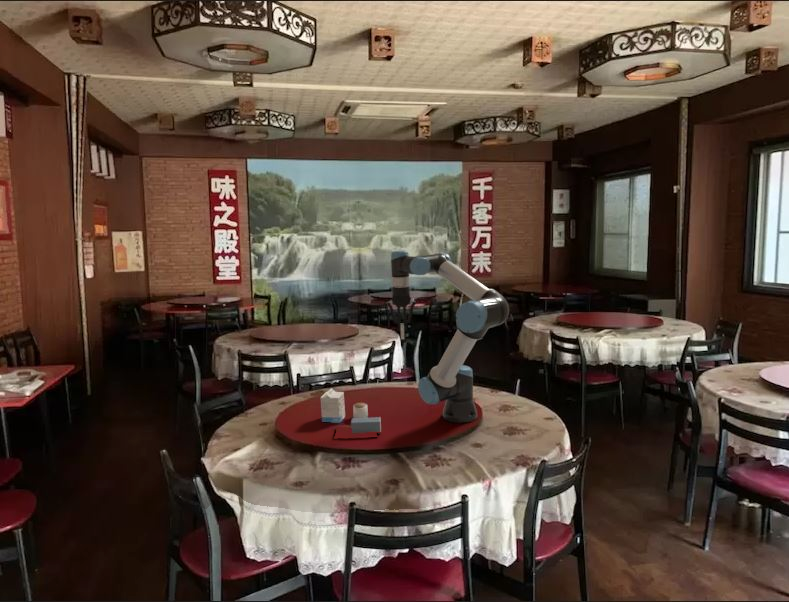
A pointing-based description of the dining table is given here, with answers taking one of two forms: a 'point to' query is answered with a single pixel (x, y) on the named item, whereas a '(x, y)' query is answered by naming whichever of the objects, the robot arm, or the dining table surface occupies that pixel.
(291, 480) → the dining table surface
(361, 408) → the white ceramic teacup
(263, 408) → the dining table surface
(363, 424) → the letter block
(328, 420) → the ink box
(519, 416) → the dining table surface
